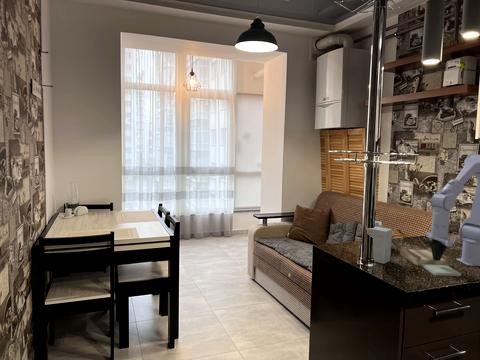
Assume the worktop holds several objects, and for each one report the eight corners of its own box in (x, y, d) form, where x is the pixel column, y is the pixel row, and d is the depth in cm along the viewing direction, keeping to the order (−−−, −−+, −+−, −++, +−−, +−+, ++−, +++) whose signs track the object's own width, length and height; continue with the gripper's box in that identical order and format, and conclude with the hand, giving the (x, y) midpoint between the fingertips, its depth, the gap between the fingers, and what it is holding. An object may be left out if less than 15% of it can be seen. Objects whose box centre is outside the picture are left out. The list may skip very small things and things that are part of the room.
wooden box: (430, 255, 154) (431, 247, 154) (449, 266, 140) (450, 258, 140) (400, 254, 154) (401, 246, 154) (416, 265, 140) (417, 256, 140)
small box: (390, 261, 144) (392, 229, 143) (383, 264, 140) (386, 231, 138) (370, 256, 150) (373, 225, 149) (363, 259, 145) (366, 227, 144)
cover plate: (445, 268, 140) (445, 264, 140) (460, 277, 130) (461, 273, 130) (421, 267, 140) (421, 263, 140) (434, 276, 130) (435, 272, 130)
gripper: (420, 220, 144) (416, 253, 145) (440, 229, 129) (436, 265, 130) (437, 221, 144) (434, 254, 145) (459, 229, 129) (456, 266, 131)
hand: (436, 260), depth 138 cm, fingers closed
